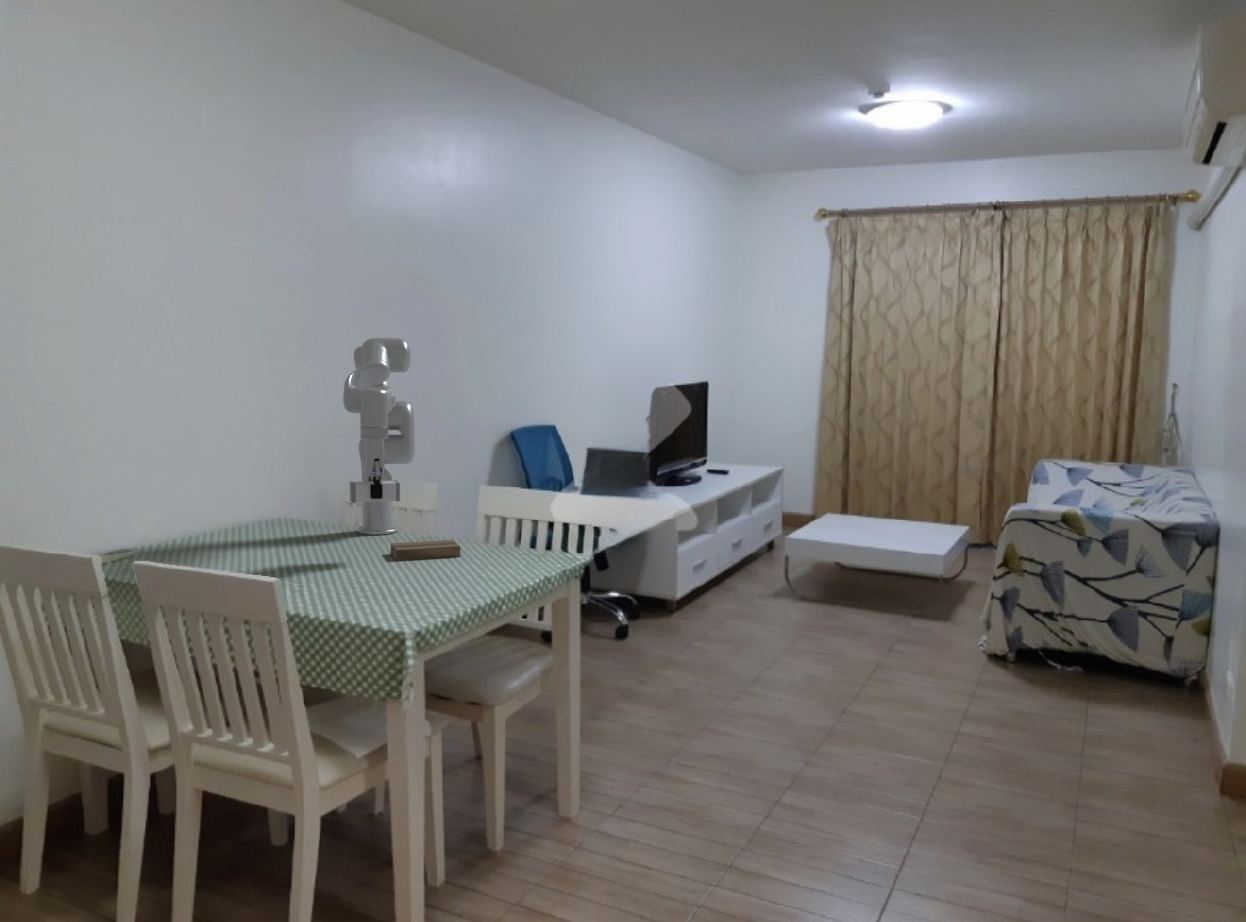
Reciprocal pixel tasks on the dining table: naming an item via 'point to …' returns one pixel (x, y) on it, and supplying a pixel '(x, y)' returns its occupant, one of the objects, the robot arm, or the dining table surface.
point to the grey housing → (362, 491)
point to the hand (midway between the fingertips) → (374, 496)
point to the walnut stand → (425, 550)
